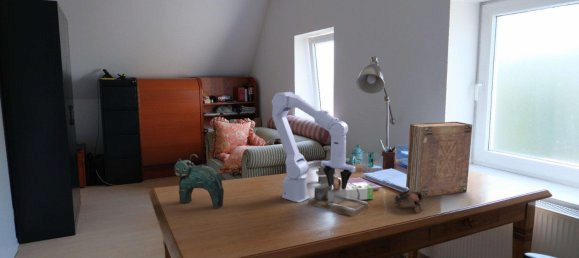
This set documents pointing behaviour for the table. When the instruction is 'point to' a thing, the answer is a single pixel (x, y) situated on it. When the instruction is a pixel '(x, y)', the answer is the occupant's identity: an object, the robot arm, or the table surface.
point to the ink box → (359, 191)
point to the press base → (345, 206)
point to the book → (438, 158)
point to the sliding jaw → (336, 192)
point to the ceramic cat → (198, 181)
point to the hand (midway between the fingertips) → (337, 186)
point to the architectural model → (323, 175)
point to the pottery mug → (405, 198)
